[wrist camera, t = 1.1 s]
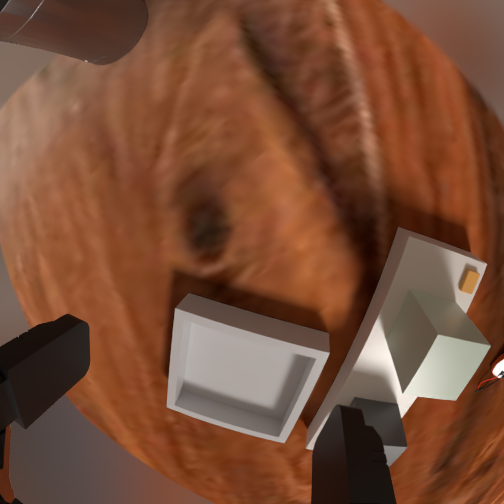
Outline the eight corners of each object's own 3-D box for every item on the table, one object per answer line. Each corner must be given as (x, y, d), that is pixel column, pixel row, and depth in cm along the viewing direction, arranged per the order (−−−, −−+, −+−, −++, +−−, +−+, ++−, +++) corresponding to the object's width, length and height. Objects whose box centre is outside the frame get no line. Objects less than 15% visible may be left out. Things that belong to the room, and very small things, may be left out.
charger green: (402, 278, 26) (437, 334, 17) (446, 291, 25) (490, 345, 16) (381, 326, 28) (402, 394, 18) (424, 336, 27) (455, 400, 18)
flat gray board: (398, 226, 26) (411, 238, 22) (471, 252, 25) (490, 266, 21) (307, 429, 35) (305, 452, 31) (367, 438, 34) (369, 460, 30)
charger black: (353, 381, 30) (358, 442, 22) (394, 389, 30) (407, 447, 21) (335, 412, 32) (335, 470, 24) (374, 418, 31) (380, 474, 23)
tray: (188, 292, 32) (175, 307, 28) (328, 332, 30) (329, 353, 27) (177, 389, 37) (166, 407, 33) (287, 422, 35) (284, 443, 32)
